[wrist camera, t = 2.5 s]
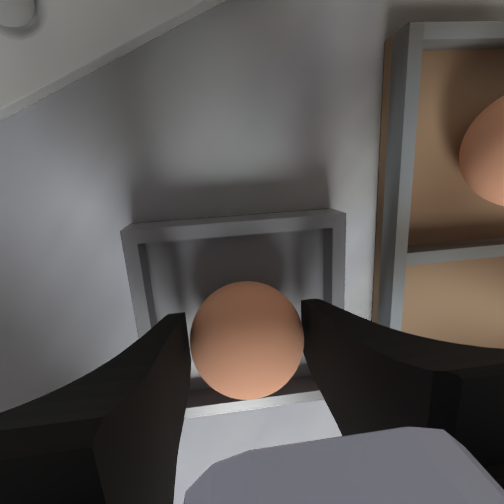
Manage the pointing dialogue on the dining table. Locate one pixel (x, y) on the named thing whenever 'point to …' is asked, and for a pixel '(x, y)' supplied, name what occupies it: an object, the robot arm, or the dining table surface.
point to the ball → (485, 154)
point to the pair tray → (438, 187)
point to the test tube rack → (75, 40)
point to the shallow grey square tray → (235, 279)
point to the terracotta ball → (246, 340)
